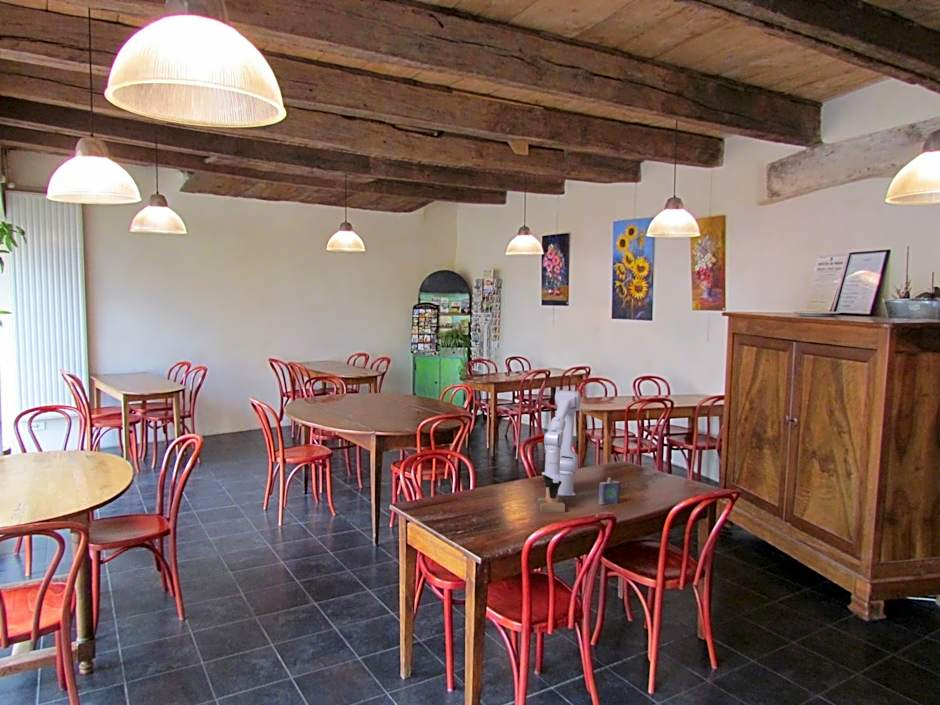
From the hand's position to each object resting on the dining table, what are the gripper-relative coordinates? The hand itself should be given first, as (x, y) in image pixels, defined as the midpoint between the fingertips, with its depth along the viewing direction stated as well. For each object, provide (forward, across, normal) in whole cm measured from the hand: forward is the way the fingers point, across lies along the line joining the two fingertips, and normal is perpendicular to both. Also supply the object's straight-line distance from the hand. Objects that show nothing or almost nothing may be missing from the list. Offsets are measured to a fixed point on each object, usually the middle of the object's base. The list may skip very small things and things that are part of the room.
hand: (551, 495), depth 253 cm
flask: (+6, -6, +25) cm, 26 cm away
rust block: (+2, 0, 0) cm, 2 cm away
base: (+5, 0, 0) cm, 5 cm away
